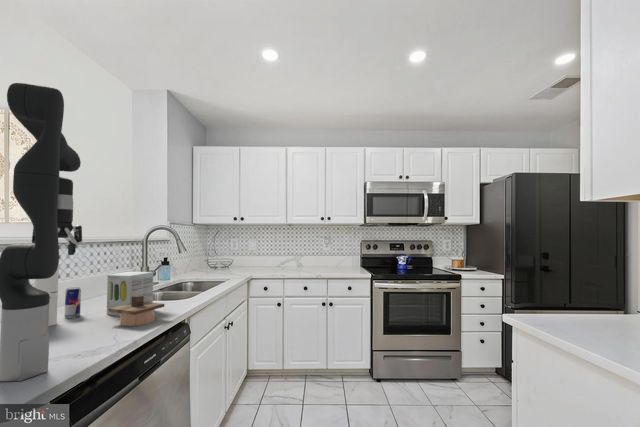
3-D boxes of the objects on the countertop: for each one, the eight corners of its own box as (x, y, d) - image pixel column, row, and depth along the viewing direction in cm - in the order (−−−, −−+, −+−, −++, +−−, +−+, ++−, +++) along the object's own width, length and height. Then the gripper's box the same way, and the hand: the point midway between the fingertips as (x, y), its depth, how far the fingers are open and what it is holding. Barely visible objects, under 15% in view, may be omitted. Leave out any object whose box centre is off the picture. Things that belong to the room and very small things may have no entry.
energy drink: (71, 318, 138) (72, 289, 138) (61, 317, 139) (62, 289, 139) (83, 315, 143) (84, 287, 144) (73, 314, 144) (74, 286, 145)
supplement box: (105, 315, 144) (106, 274, 144) (130, 308, 156) (131, 270, 157) (129, 317, 140) (130, 275, 141) (153, 310, 152) (154, 271, 153)
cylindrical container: (61, 323, 131) (63, 259, 132) (41, 328, 124) (44, 261, 125) (47, 321, 133) (50, 259, 134) (28, 326, 126) (30, 260, 127)
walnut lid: (164, 306, 137) (164, 294, 137) (134, 314, 124) (135, 300, 124) (139, 304, 142) (139, 291, 142) (108, 311, 129) (108, 298, 129)
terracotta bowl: (160, 319, 136) (161, 307, 137) (135, 327, 125) (135, 313, 125) (139, 316, 141) (139, 304, 141) (112, 324, 129) (113, 311, 130)
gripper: (42, 206, 105) (40, 257, 105) (88, 209, 119) (86, 254, 118) (28, 207, 108) (26, 257, 107) (74, 209, 121) (72, 254, 120)
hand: (57, 255), depth 112 cm, fingers open, 8 cm apart
